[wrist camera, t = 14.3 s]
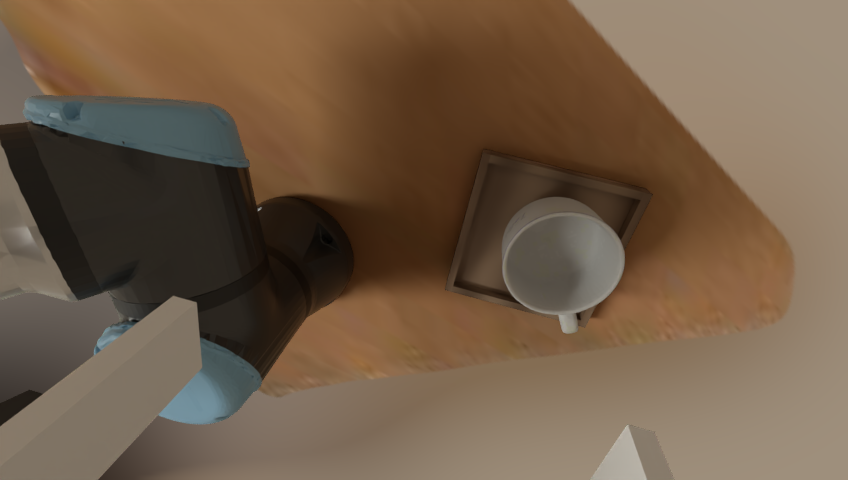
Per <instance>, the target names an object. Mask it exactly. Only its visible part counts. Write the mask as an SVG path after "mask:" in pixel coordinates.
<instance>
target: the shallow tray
mask: <svg viewBox="0 0 848 480" xmlns="http://www.w3.org/2000/svg"><path fill="white" fill-rule="evenodd" d="M652 195H653V194H652V193H650V192H649V191H648V190H647V189H645V188H641V187H637V186H633V185H629V184H625V183H620V182H616V181H612V180H608V179H604V178H600V177H596V176H592V175H588V174H584V173H580V172H576V171H572V170H568V169H564V168H559V167H555V166H551V165H547V164H543V163H539V162H535V161H531V160H527V159H523V158H519V157H515V156H511V155H507V154H503V153H498V152H494V151H490V150H486V149H483V153H482V156H481V160H480V164H479V167H478V171H477V174H476V178H475V182H474V185H473V189H472V192H471V196H470V200H469V203H468V207H467V211H466V214H465V218H464V221H463V225H462V229H461V232H460V236H459V239H458V243H457V247H456V250H455V254H454V257H453V261H452V265H451V268H450V272H449V276H448V279H447V283H446V288H445V290H447V291H451V292H455V293H458V294H462V295H466V296H469V297H473V298H477V299H481V300H484V301H488V302H492V303H495V304H499V305H503V306H507V307H510V308H514V309H518V310H521V311H525V312H529V313H533V314H536V315H540V316H544V317H547V318H551V319H555V320H558V321H560V320H559V316H558V315H553V314H545V313H540V312H536V311H534V310H531V309H529V308H527V307H525V306H524V305H523V304H521V303H520V302H519V301H517V300H516V299H515V298H514V297H513V296H512V294H511V293H510V291H509V290H508V288H507V286H506V283H505V281H504V278H503V273H502V240H503V235H504V232H505V229H506V227H507V225H508V223H509V222H510V220H511V219H512V217H513V216H514V215H515V214H516V213H517V212H518V211H519V210H520V209H522V208H523V207H524V206H526V205H528V204H529V203H531V202H534V201H536V200H539V199H543V198H548V197H564V198H570V199H574V200H576V201H579V202H581V203H583V204H585V205H586V206H588V207H589V208H591V209H592V210H593V211H594V212H595V213H596V214H597V215H598V216H599V217H600V218H601V219H602V220H603V221H604V222H605V223H606V224H607V225H609V226H610V227H611V228H612V229H613V230H614V231H615V233H616V234H617V235H618V237H619V239H620V241H621V243H622V246H623V249H624V250H625V248H626V246H627V244H628V242H629V240H630V239H631V237H632V235H633V233H634V231H635V229H636V227H637V225H638V223H639V221H640V219H641V217H642V215H643V213H644V211H645V209H646V207H647V205H648V203H649V201H650V199H651V197H652ZM595 307H596V305H595V306H593V307H590V308H588V309H586V310H584V311H581V312H577V313H576V316H577V321H578V326H581V327H584V328H585V327H586V325H587V323H588V321H589V319H590V317H591V315H592V313H593V311H594V309H595Z"/></svg>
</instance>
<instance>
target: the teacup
mask: <svg viewBox="0 0 848 480" xmlns="http://www.w3.org/2000/svg"><path fill="white" fill-rule="evenodd" d="M624 265H625V253H624V249H623V246H622V243H621V241H620V239H619V237H618V235H617V234H616V233H615V231H614V230H613V229H612V228H611V227H610V226H609V225H607V224H606V223H605V222H604V221H603V220H602V219H601V218H600V217H599V216H598V215H597V214H596V213H595V212H594V211H593V210H592V209H591V208H589V207H588V206H586V205H585V204H583V203H581V202H579V201H576V200H574V199H570V198H564V197H548V198H543V199H539V200H536V201H534V202H531V203H529V204H528V205H526V206H524V207H523V208H522V209H520V210H519V211H518V212H517V213H516V214H515V215H514V216H513V217H512V219H511V220H510V222H509V223H508V225H507V227H506V229H505V232H504V235H503V240H502V273H503V278H504V281H505V283H506V286H507V288H508V290H509V291H510V293H511V294H512V296H513V297H514V298H515V299H516V300H517V301H519V302H520V303H521V304H523V305H524V306H525V307H527V308H529V309H531V310H534V311H536V312H540V313H545V314H553V315H558V316H559V320H560V324H561V328H562V331H563V332H564V333H575V332H577V331H578V321H577V316H576V313H577V312H581V311H584V310H586V309H588V308H590V307H593V306H595V305H597V304H598V303H600V302H601V301H603V300H604V299H605V298H606V297H607V296H609V295H610V294H611V292H612V291H613V290H614V289H615V287H616V286H617V284H618V283H619V281H620V279H621V276H622V273H623V270H624Z"/></svg>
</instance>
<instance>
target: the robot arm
mask: <svg viewBox="0 0 848 480" xmlns="http://www.w3.org/2000/svg"><path fill="white" fill-rule="evenodd" d="M23 114H24V116H25V117H26V119H27V120H31V121H29V122H25V123H16V124H5V125H0V300H2V299H5V298H8V297H12V296H15V295H19V294H22V293H25V292H34V293H42V294H45V295H48V296H52V297H56V298H59V299H63V300H66V301H70V302H75V301H79V300H82V299H85V298H88V297H91V296H94V295H97V294H100V293H103V292H107V291H108V293H109V294H110V297H111V299H112V301H113V303H114V305H115V308H116V310H117V312H118V315H119V318H120V320H119V323H117V324H113V325H111V326H110V327H108V328H107V329H106V330H105V331H104V333H103V335H102V336H101V337H100V338H99V340H98V343H97V345H96V347H95V349H94V356H93V357H92V358H90V359H89V360H88V361H86V362H85V363H84V364H82V365H81V366H80V367H79V368H77V369H76V370H74V371H73V372H72V373H70V374H69V375H68V376H66V377H65V378H64V379H62V380H61V381H60V382H59V383H57V384H56V385H55V386H53V387H52V388H51V389H49V390H48V391H47V392H45V393H44V394H41V393H38V392H35V391H32V390H28V391H26V392H24V393H22V394H19V395H18V396H15V397H13V398H11V399H9V400H7V401H4V402H2V403H0V480H98V479H99V478H100V477H101V476H102V474H103V473H104V472H105V471H106V470H107V469H108V468H109V467H110V466H111V465H112V464H113V463H114V462H115V460H116V459H117V458H118V457H119V456H120V455H121V454H122V453H123V452H124V451H125V450H126V449H127V448H128V447H129V446H130V444H131V443H132V442H133V441H134V440H135V439H136V438H137V437H138V436H139V435H140V434H141V433H142V432H143V431H144V429H145V428H146V427H147V426H148V425H149V424H150V423H151V422H152V421H153V420H154V419H155V418H156V417H157V415H159V416H161V417H164V418H167V419H170V420H174V421H178V422H182V423H189V424H211V423H216V422H219V421H222V420H225V419H227V418H229V417H230V416H231V415H233V414H234V413H235V412H237V411H238V410H239V409H240V408H241V406H242V405H243V404H244V403H245V401H246V400H247V399H248V398H249V396H251V394H252V393H253V392H254V391H256V390H258V389H259V387H260V386H261V384H262V383H261V382H262V380H263V379H264V378H265V376H266V375H267V373H268V372H269V370H270V369H271V367H272V366H273V365H274V363H275V362H276V360H277V359H278V357H279V356H280V354H281V353H282V352H283V350H284V349H285V347H286V346H287V344H288V343H289V342H290V340H291V339H292V337H293V336H294V334H295V333H296V332H297V330H298V329H299V327H300V326H301V325H302V323H303V322H304V320H305V319H306V318H307V317H308V316H310V315H312V314H313V313H315V312H317V311H318V310H320V309H321V308H323V307H325V306H327V305H329V304H330V303H332V302H333V301H334V300H335V299H336V298H337V297H338V296H339V295H340V294H341V293H342V291H343V290H344V288H345V287H346V285H347V283H348V282H349V280H350V277H351V275H352V271H353V253H352V248H351V245H350V242H349V240H348V238H347V236H346V234H345V232H344V231H343V229H342V228H341V227H340V225H339V224H338V223H337V222H336V221H335V220H334V219H333V218H332V217H331V216H330V215H329V214H328V213H327V212H325V211H324V210H322V209H321V208H319V207H318V206H316V205H314V204H312V203H310V202H307V201H304V200H301V199H297V198H290V197H279V198H273V199H269V200H266V201H264V202H262V203H260V204H259V205H256V201H255V197H254V193H253V188H252V183H251V178H250V173H249V169H248V167H250V163H249V160H248V159H246V157H245V154H244V150H243V147H242V143H241V140H240V137H239V133H238V130H237V126H236V124H235V121H234V120H233V118H232V117H231V116H230V114H229V113H228V112H226V111H225V110H224V109H222V108H221V107H219V106H216V105H214V104H210V103H205V102H197V101H186V100H173V99H157V98H138V97H116V96H53V95H42V96H32V97H29V98H28V99H27V100H26V101H25V109H24V110H23ZM590 480H674V478H673V475H672V473H671V470H670V468H669V466H668V463H667V461H666V458H665V456H664V454H663V451H662V449H661V446H660V444H659V441H658V439H657V436H656V434H655V432H653V431H650V430H646V429H643V428H639V427H636V426H632V425H629V424H627V426H626V427H625V429H624V430H623V432H622V433H621V435H620V436H619V438H618V439H617V441H616V442H615V444H614V445H613V447H612V448H611V450H610V451H609V452H608V454H607V455H606V457H605V458H604V460H603V461H602V463H601V464H600V466H599V467H598V469H597V470H596V472H595V473H594V475H593V476H592V478H591V479H590Z"/></svg>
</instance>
